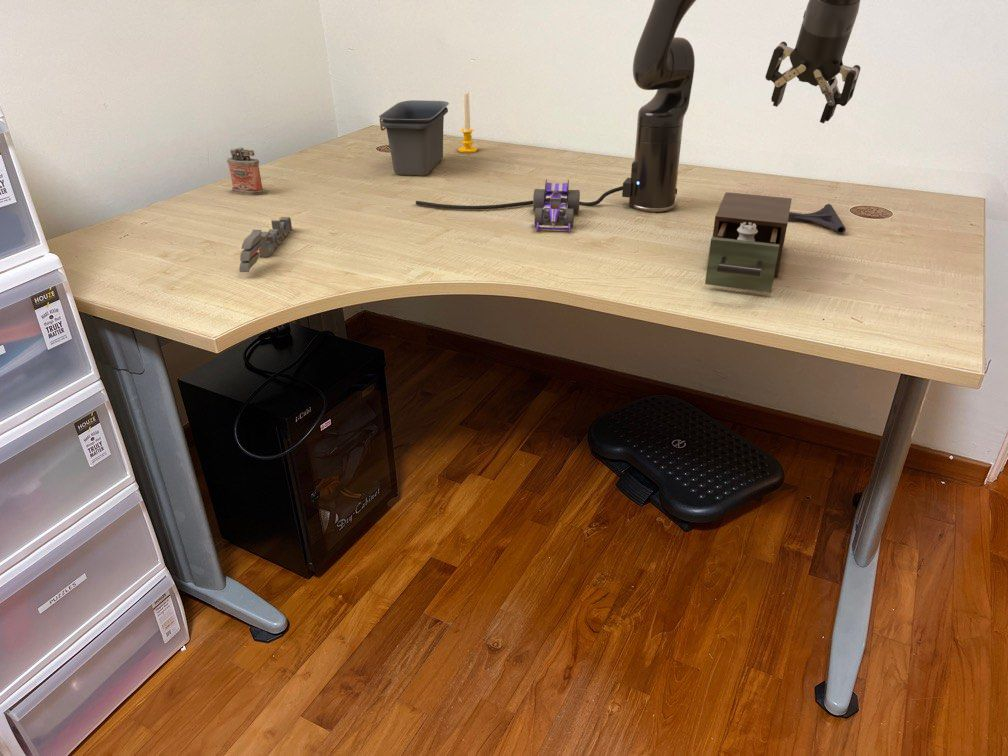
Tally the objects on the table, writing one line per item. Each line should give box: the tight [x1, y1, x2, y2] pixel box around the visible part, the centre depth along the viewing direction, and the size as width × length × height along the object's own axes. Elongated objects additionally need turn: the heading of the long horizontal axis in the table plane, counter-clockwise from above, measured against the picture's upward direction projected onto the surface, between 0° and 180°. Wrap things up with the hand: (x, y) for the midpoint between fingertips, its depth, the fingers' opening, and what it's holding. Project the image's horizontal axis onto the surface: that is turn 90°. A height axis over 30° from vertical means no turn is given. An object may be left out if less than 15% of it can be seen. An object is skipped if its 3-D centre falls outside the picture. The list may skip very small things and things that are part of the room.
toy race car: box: [532, 178, 581, 233], centre depth 155 cm, size 10×15×6 cm, turn 174°
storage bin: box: [378, 99, 450, 177], centre depth 190 cm, size 21×16×14 cm
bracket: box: [788, 203, 846, 235], centre depth 154 cm, size 14×15×3 cm
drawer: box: [704, 222, 779, 294], centre depth 125 cm, size 18×10×8 cm, turn 159°
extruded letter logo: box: [239, 216, 293, 273], centre depth 141 cm, size 25×2×6 cm, turn 177°
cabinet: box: [712, 191, 793, 279], centre depth 135 cm, size 15×12×10 cm
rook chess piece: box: [737, 222, 758, 242], centre depth 125 cm, size 4×4×8 cm
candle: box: [458, 91, 478, 154], centre depth 204 cm, size 5×5×16 cm
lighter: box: [226, 146, 265, 196], centre depth 174 cm, size 8×3×10 cm, turn 68°
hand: (799, 112), depth 132 cm, fingers open, 8 cm apart
